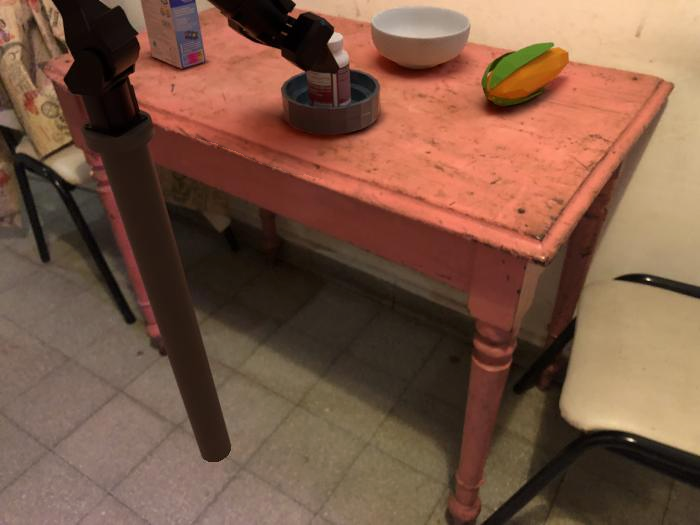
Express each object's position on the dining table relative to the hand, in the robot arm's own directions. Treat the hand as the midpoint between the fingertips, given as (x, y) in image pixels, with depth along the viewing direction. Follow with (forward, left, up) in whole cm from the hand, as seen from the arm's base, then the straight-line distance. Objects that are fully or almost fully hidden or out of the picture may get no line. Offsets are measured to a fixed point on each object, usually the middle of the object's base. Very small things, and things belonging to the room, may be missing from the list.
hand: (318, 60), depth 82 cm
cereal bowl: (+26, -5, -9) cm, 28 cm away
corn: (+20, -25, -9) cm, 33 cm away
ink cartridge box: (+10, +35, -9) cm, 38 cm away
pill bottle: (+1, -1, -8) cm, 8 cm away
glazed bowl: (+1, -1, -9) cm, 9 cm away
